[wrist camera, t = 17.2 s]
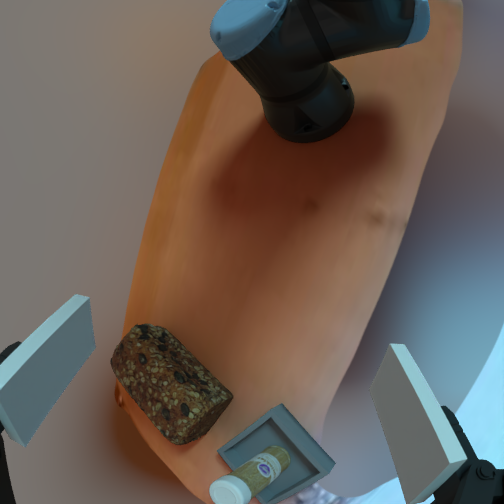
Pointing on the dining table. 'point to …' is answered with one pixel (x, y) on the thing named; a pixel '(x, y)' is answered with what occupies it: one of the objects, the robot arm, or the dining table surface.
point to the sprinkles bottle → (250, 477)
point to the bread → (169, 383)
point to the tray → (288, 437)
